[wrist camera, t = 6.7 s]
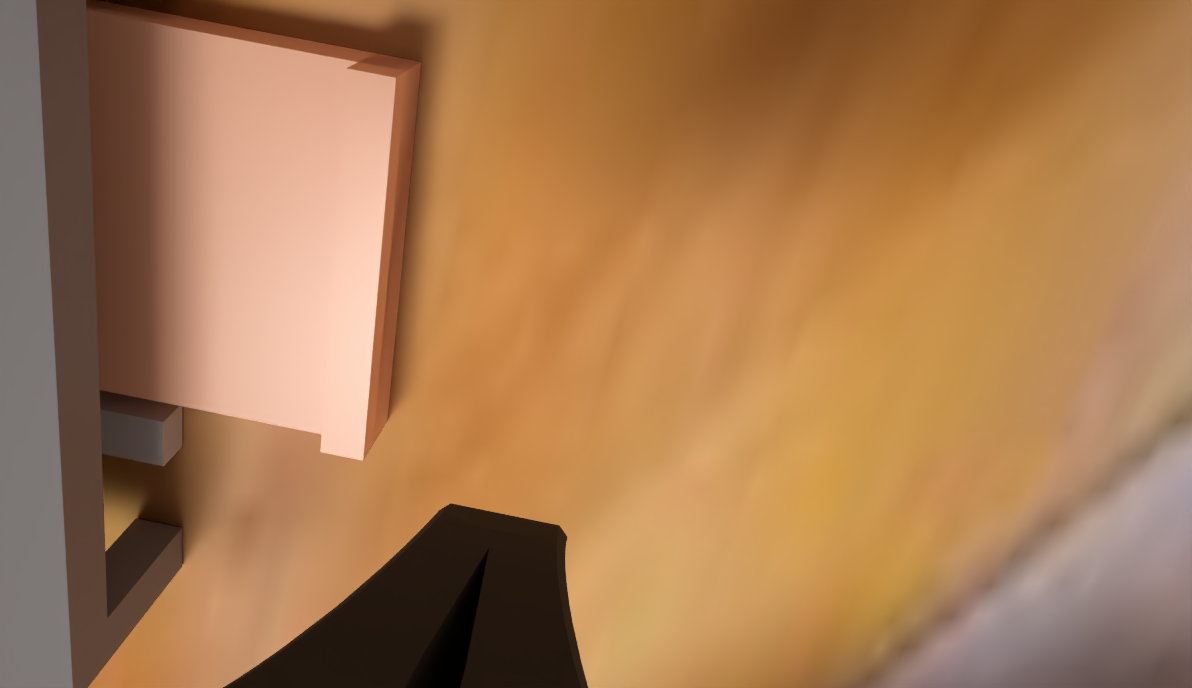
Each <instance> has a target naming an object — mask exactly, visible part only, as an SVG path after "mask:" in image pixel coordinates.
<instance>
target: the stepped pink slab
mask: <svg viewBox="0 0 1192 688" xmlns="http://www.w3.org/2000/svg"><path fill="white" fill-rule="evenodd" d="M86 14H87V43H88V72H89V101H90V129H91V158H92V187H93V216H94V245H95V274H96V302H97V331H98V360H99V389H100V390H103V391H108V392H113V393H118V394H123V395H128V396H133V397H138V398H143V399H148V400H153V401H158V402H163V403H168V404H173V405H178V406H183V407H188V408H193V409H198V410H203V411H208V412H213V413H218V414H223V415H228V416H233V417H238V418H243V419H248V420H253V421H258V422H263V423H268V424H273V425H277V426H282V427H287V428H292V429H297V430H302V431H307V432H312V433H317V434H322V437H321V452H323V453H328V454H333V455H338V456H343V457H348V458H353V459H358V460H364V458H365V457H366V455H367V453H368V452H369V450H370V449H371V447H372V445H373V444H374V442H375V440H376V439H377V437H378V435H379V434H380V432H381V431H382V429H383V427H384V426H385V424H386V422H387V421H388V410H389V400H390V389H391V379H392V368H393V358H394V347H395V337H396V326H397V316H398V305H399V295H400V284H401V274H402V263H403V253H404V242H405V232H406V221H407V211H408V200H409V189H410V179H411V168H412V158H413V147H414V137H415V126H416V116H417V105H418V95H419V84H420V74H421V63H422V62H420V61H414V60H409V59H404V58H398V57H393V56H388V55H383V54H377V53H372V52H367V51H362V50H356V49H351V48H346V47H340V46H335V45H330V44H325V43H319V42H314V41H309V40H304V39H298V38H293V37H288V36H282V35H277V34H272V33H267V32H261V31H256V30H251V29H245V28H240V27H235V26H230V25H224V24H219V23H214V22H209V21H203V20H198V19H193V18H187V17H182V16H177V15H172V14H166V13H161V12H156V11H150V10H145V9H140V8H135V7H129V6H124V5H119V4H114V3H108V2H103V1H98V0H86Z"/></svg>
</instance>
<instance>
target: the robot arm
mask: <svg viewBox="0 0 1192 688" xmlns="http://www.w3.org/2000/svg"><path fill="white" fill-rule="evenodd" d="M566 541H567V536H566V534H565V533H564V532H563V530H562V529H561V527H560V526H559V525H554V524H549V523H544V522H539V521H534V520H529V519H524V518H519V517H514V516H509V515H505V514H500V513H495V512H490V511H485V510H480V509H475V508H470V507H465V506H460V505H455V504H449V505H447V506H446V507H444V508H442V509H441V510H439V511H438V512H437V514H436V515H435V516H434V517H433V518H432V519H431V520H430V521H429V522H428V523H427V524H426V525H425V526H424V527H423V528H422V529H421V530H420V531H419V532H418V533H417V534H416V535H415V536H414V537H413V538H412V539H411V540H410V541H409V542H408V543H407V544H406V545H405V546H404V547H403V548H402V549H401V550H400V551H399V552H398V553H397V554H396V555H395V556H394V557H393V558H392V559H390V560H389V561H388V562H387V563H386V564H385V565H384V566H383V567H382V568H381V569H380V570H378V571H377V572H376V573H375V574H374V575H373V576H372V577H370V578H369V579H368V580H367V581H366V582H365V583H363V584H362V585H361V586H360V587H359V588H358V589H357V590H355V591H354V592H353V593H352V594H351V595H350V596H348V597H347V598H346V599H345V600H344V601H343V602H341V603H340V604H339V605H338V606H337V607H335V608H334V609H333V610H332V611H330V612H329V613H328V614H326V615H325V616H324V617H322V618H321V619H320V620H319V621H317V622H316V623H315V624H313V625H312V626H311V627H309V628H308V629H307V630H305V631H304V632H303V633H302V634H300V635H299V636H298V637H296V638H295V639H294V640H292V641H291V642H290V643H288V644H287V645H286V646H284V647H283V648H282V649H280V650H279V651H278V652H276V653H275V654H273V655H272V656H270V657H269V658H268V659H266V660H265V661H263V662H262V663H260V664H259V665H257V666H256V667H254V668H253V669H251V670H250V671H248V672H247V673H245V674H244V675H242V676H241V677H239V678H238V679H236V680H235V681H233V682H231V683H230V684H228V685H227V686H225V687H223V688H588V686H587V682H586V678H585V675H584V671H583V667H582V664H581V659H580V655H579V650H578V646H577V641H576V637H575V632H574V628H573V623H572V618H571V612H570V606H569V599H568V591H567V583H566V571H565V547H566Z"/></svg>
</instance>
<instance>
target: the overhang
mask: <svg viewBox="0 0 1192 688" xmlns="http://www.w3.org/2000/svg"><path fill="white" fill-rule="evenodd" d="M181 447H182V406H178V405H173V404H168V403H163V402H158V401H153V400H148V399H143V398H138V397H133V396H128V395H123V394H118V393H113V392H108V391H103V390H100V389H99V360H98V331H97V302H96V274H95V245H94V216H93V187H92V158H91V129H90V101H89V72H88V43H87V14H86V0H0V688H88V686H89V685H90V684H91V683H92V681H93V680H94V679H95V677H96V676H97V675H98V674H99V672H100V671H101V670H102V668H103V667H104V666H105V665H106V663H107V662H108V661H109V659H110V658H111V657H112V656H113V654H114V653H115V652H116V650H117V649H118V648H119V647H120V645H121V644H122V643H123V641H124V640H125V639H126V638H127V636H128V635H129V634H130V632H131V631H132V630H133V629H134V627H135V626H136V625H137V623H138V622H139V621H140V620H141V618H142V617H143V616H144V614H145V613H146V612H147V611H148V609H149V608H150V607H151V605H152V604H153V603H154V602H155V600H156V599H157V598H158V596H159V595H160V594H161V593H162V591H163V590H164V589H165V587H166V586H167V585H168V584H169V582H170V581H171V580H172V578H173V577H174V576H175V575H176V573H177V572H178V571H179V569H180V568H181V567H182V528H181V527H176V526H171V525H166V524H161V523H156V522H152V521H147V520H142V519H137V518H136V519H135V520H134V521H133V522H132V524H131V525H130V526H129V527H128V528H127V529H126V530H125V531H124V532H123V533H122V535H121V536H120V537H119V538H118V539H117V540H116V541H115V542H114V543H113V544H112V546H111V547H110V548H109V549H108V550H107V551H106V552H105V533H104V504H103V475H102V454H105V455H110V456H115V457H120V458H124V459H129V460H134V461H139V462H144V463H149V464H154V465H159V466H164V465H165V464H166V463H167V462H168V461H169V460H170V459H171V458H172V457H173V456H174V455H175V454H176V453H177V452H178V450H179V449H180V448H181Z"/></svg>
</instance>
